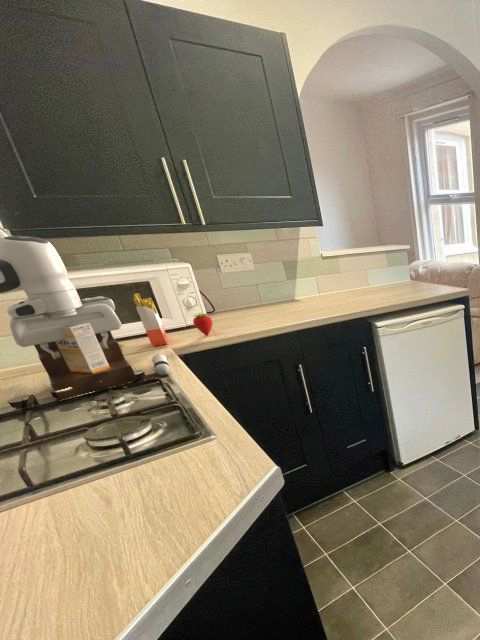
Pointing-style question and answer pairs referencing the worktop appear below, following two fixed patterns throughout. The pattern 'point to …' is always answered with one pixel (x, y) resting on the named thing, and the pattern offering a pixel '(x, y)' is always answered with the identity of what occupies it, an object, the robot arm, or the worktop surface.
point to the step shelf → (86, 382)
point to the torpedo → (161, 364)
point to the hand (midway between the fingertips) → (81, 353)
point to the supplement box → (82, 349)
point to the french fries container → (150, 320)
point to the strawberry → (203, 323)
